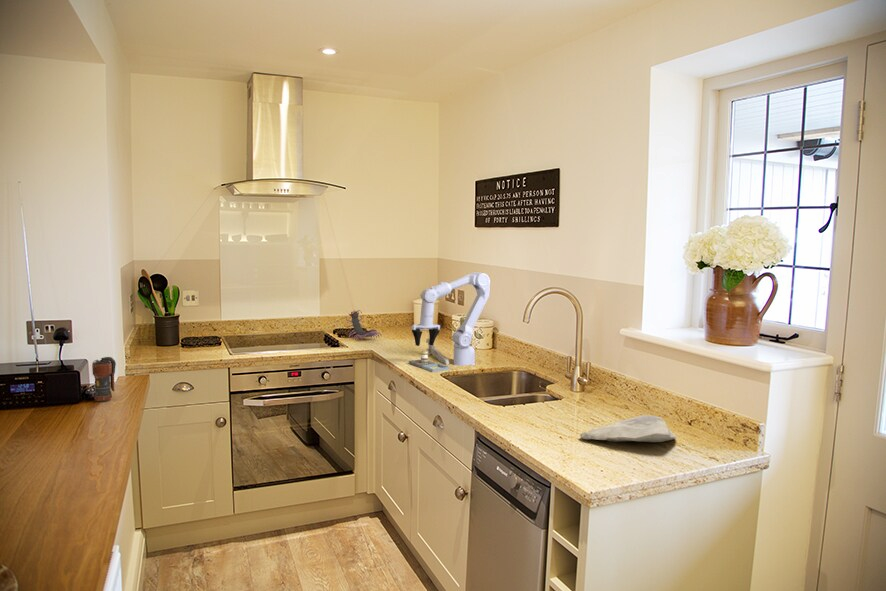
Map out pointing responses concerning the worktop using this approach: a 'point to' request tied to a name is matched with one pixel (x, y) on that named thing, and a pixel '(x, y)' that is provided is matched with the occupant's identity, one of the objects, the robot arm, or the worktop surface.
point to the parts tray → (443, 367)
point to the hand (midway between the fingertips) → (424, 345)
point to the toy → (360, 327)
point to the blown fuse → (424, 357)
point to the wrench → (436, 353)
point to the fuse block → (419, 363)
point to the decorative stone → (633, 430)
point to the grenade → (103, 378)
